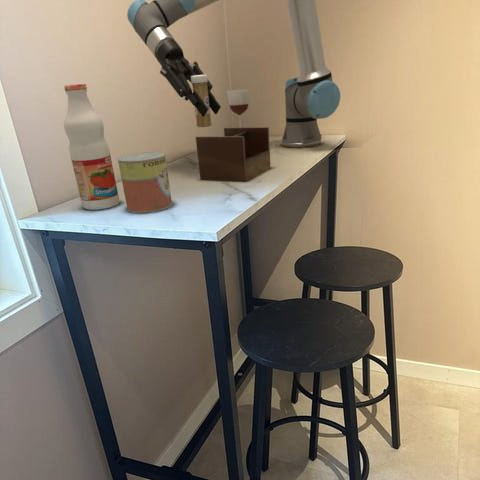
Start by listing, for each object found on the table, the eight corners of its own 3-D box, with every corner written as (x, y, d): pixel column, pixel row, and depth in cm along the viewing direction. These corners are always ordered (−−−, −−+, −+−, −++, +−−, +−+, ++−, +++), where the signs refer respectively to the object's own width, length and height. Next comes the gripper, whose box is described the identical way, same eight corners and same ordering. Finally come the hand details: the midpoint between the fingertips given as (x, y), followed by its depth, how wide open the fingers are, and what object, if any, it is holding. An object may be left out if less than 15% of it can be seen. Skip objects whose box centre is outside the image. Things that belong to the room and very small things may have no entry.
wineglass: (232, 143, 194) (228, 90, 184) (253, 142, 193) (250, 88, 183) (229, 146, 187) (225, 92, 178) (251, 145, 186) (247, 90, 176)
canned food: (163, 212, 109) (155, 160, 104) (119, 213, 112) (109, 162, 106) (178, 199, 119) (171, 151, 113) (137, 200, 121) (128, 153, 115)
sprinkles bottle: (208, 127, 134) (203, 74, 127) (194, 127, 135) (188, 76, 129) (214, 124, 138) (209, 74, 131) (200, 125, 139) (194, 75, 133)
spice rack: (228, 167, 151) (225, 127, 146) (270, 168, 145) (268, 127, 139) (200, 179, 138) (195, 137, 132) (245, 181, 131) (242, 136, 125)
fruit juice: (97, 199, 125) (72, 84, 112) (127, 200, 122) (104, 82, 108) (75, 209, 118) (44, 87, 104) (105, 211, 114) (78, 84, 101)
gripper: (183, 58, 143) (226, 117, 141) (137, 62, 132) (184, 125, 130) (192, 37, 137) (238, 97, 135) (146, 39, 126) (195, 105, 124)
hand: (211, 111), depth 132 cm, fingers closed on sprinkles bottle, 4 cm apart
